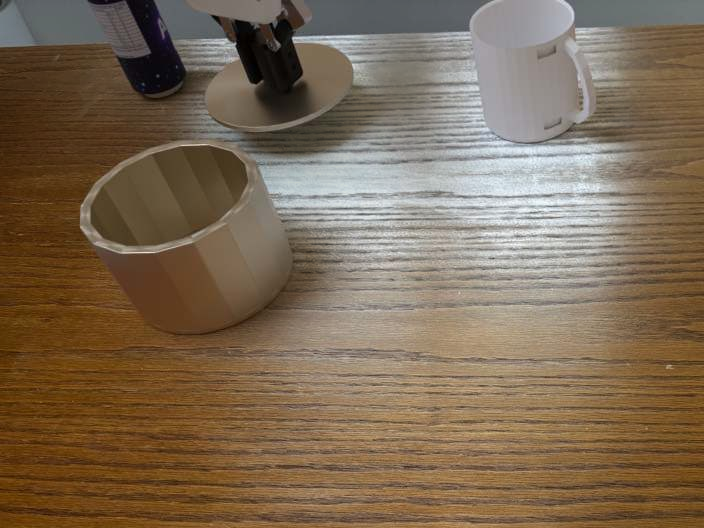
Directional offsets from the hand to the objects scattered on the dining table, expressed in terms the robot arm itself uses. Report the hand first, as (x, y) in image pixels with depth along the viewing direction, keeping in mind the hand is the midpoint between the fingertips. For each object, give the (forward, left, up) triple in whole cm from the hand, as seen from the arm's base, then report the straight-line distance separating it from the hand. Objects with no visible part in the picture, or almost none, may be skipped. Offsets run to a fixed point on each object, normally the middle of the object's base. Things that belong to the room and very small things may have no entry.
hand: (277, 78), depth 79 cm
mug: (+25, -1, -4) cm, 25 cm away
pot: (0, -22, -4) cm, 22 cm away
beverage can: (-16, +6, -4) cm, 18 cm away
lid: (0, 0, -1) cm, 1 cm away
